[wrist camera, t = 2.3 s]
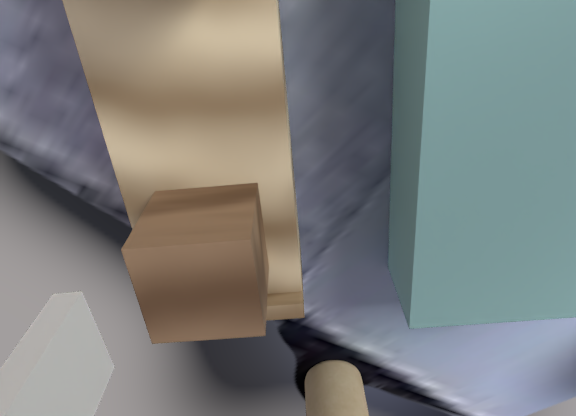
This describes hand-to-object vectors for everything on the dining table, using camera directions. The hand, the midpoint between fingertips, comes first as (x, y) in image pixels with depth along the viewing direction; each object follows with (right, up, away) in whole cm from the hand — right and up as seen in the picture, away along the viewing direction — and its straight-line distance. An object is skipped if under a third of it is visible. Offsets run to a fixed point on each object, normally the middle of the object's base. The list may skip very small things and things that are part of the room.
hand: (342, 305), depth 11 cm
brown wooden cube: (-6, +1, +15) cm, 16 cm away
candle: (+3, -14, +31) cm, 34 cm away
